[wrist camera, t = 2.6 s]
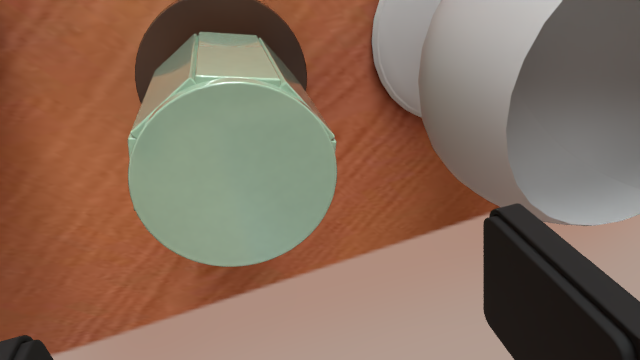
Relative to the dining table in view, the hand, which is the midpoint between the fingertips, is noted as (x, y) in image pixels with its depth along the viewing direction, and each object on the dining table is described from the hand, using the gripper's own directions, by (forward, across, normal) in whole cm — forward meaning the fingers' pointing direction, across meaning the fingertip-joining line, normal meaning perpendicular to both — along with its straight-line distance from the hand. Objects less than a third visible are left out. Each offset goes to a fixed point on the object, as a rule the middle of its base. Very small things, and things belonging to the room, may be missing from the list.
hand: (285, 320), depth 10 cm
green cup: (+16, +1, 0) cm, 16 cm away
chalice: (+22, -15, 0) cm, 27 cm away
